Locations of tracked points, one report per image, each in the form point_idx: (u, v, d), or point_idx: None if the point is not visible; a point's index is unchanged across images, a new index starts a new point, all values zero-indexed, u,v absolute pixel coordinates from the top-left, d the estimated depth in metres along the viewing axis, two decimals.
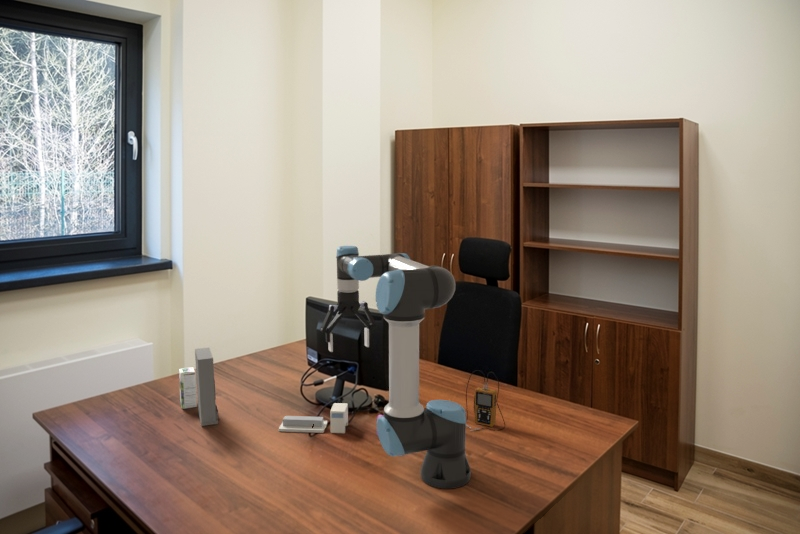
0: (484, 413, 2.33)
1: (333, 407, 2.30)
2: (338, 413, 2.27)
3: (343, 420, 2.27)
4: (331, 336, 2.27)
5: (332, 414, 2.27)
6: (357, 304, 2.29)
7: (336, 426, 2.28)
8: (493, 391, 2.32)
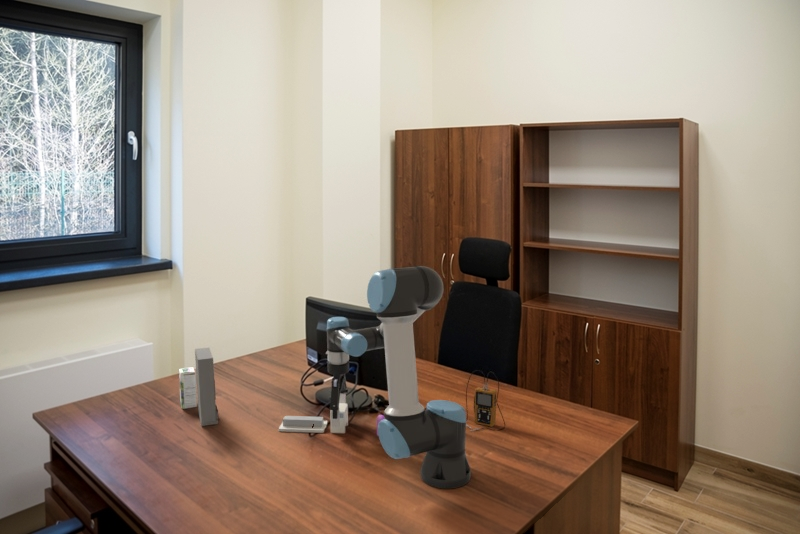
0: (484, 413, 2.33)
1: None
2: None
3: (343, 420, 2.27)
4: (339, 411, 2.24)
5: None
6: None
7: None
8: (493, 391, 2.32)
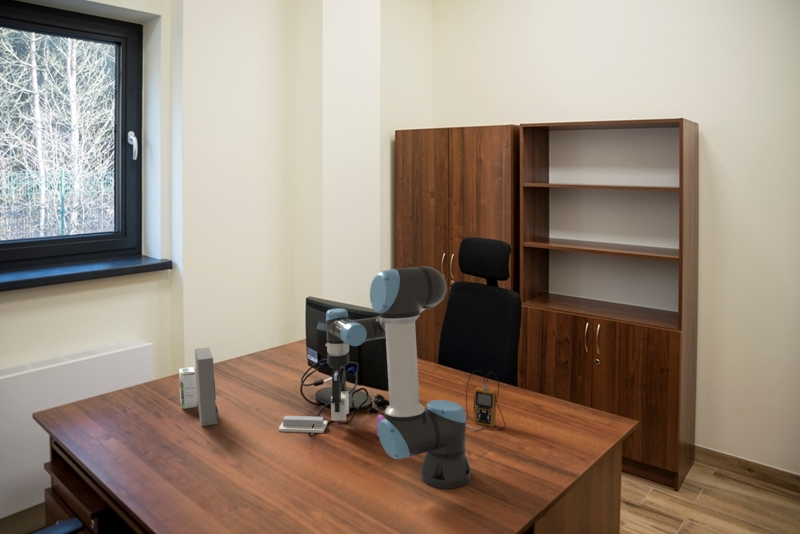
0: (484, 413, 2.33)
1: None
2: None
3: (344, 407, 2.26)
4: (341, 404, 2.25)
5: None
6: None
7: None
8: (493, 391, 2.32)
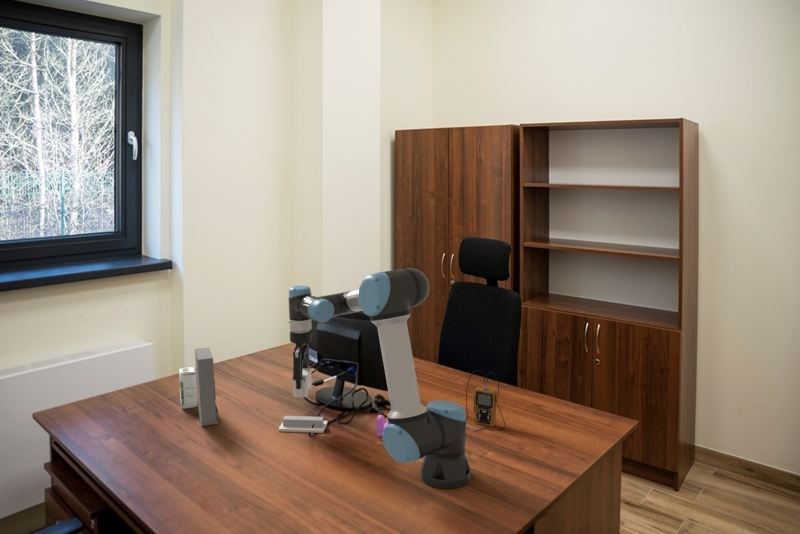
0: (484, 413, 2.33)
1: None
2: None
3: (305, 384, 2.26)
4: (302, 381, 2.25)
5: None
6: None
7: None
8: (493, 391, 2.32)
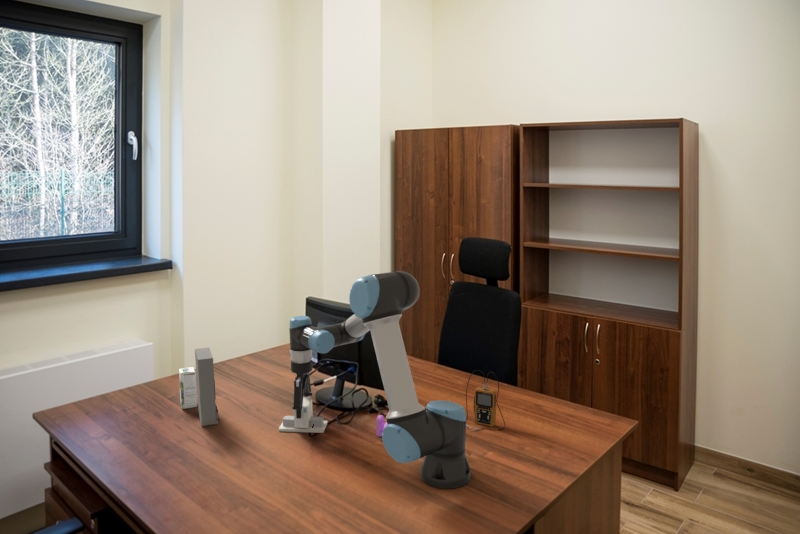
0: (484, 413, 2.33)
1: None
2: None
3: (306, 415, 2.28)
4: None
5: None
6: None
7: None
8: (493, 391, 2.32)
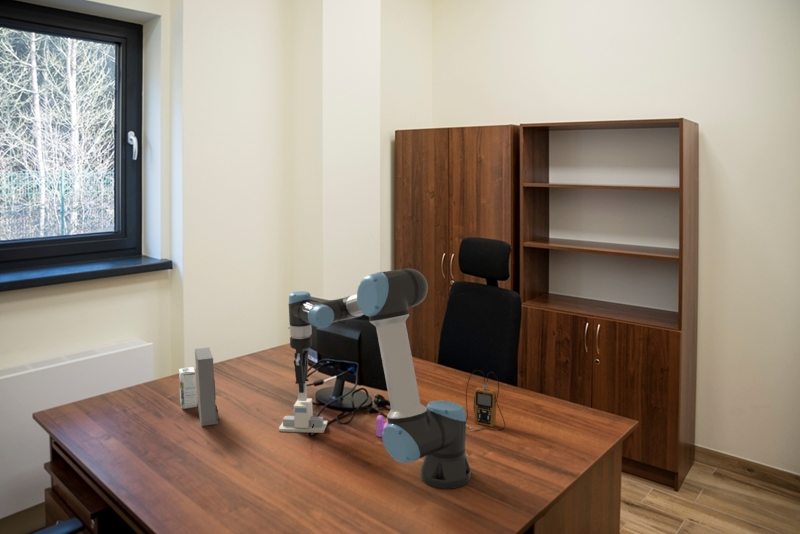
0: (484, 413, 2.33)
1: (297, 402, 2.31)
2: (301, 408, 2.28)
3: (306, 415, 2.28)
4: (305, 385, 2.30)
5: (295, 409, 2.28)
6: None
7: (300, 421, 2.29)
8: (493, 391, 2.32)
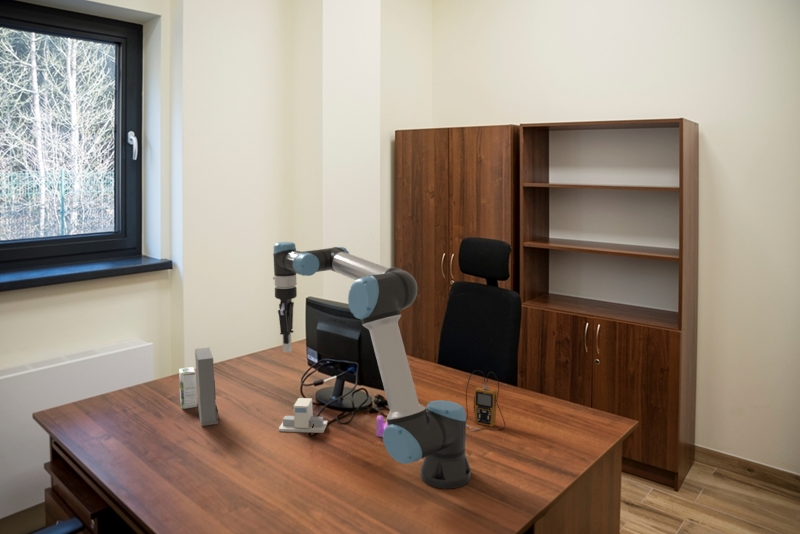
0: (484, 413, 2.33)
1: (297, 402, 2.31)
2: (301, 408, 2.28)
3: (306, 415, 2.28)
4: (290, 336, 2.30)
5: (295, 409, 2.28)
6: (291, 299, 2.31)
7: (300, 421, 2.29)
8: (493, 391, 2.32)
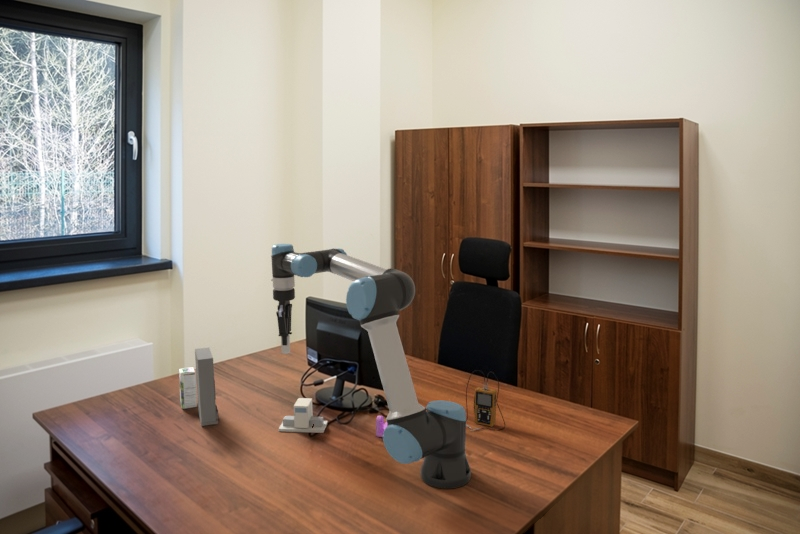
0: (484, 413, 2.33)
1: (297, 402, 2.31)
2: (301, 408, 2.28)
3: (306, 415, 2.28)
4: (288, 338, 2.31)
5: (295, 409, 2.28)
6: (289, 300, 2.32)
7: (300, 421, 2.29)
8: (493, 391, 2.32)
